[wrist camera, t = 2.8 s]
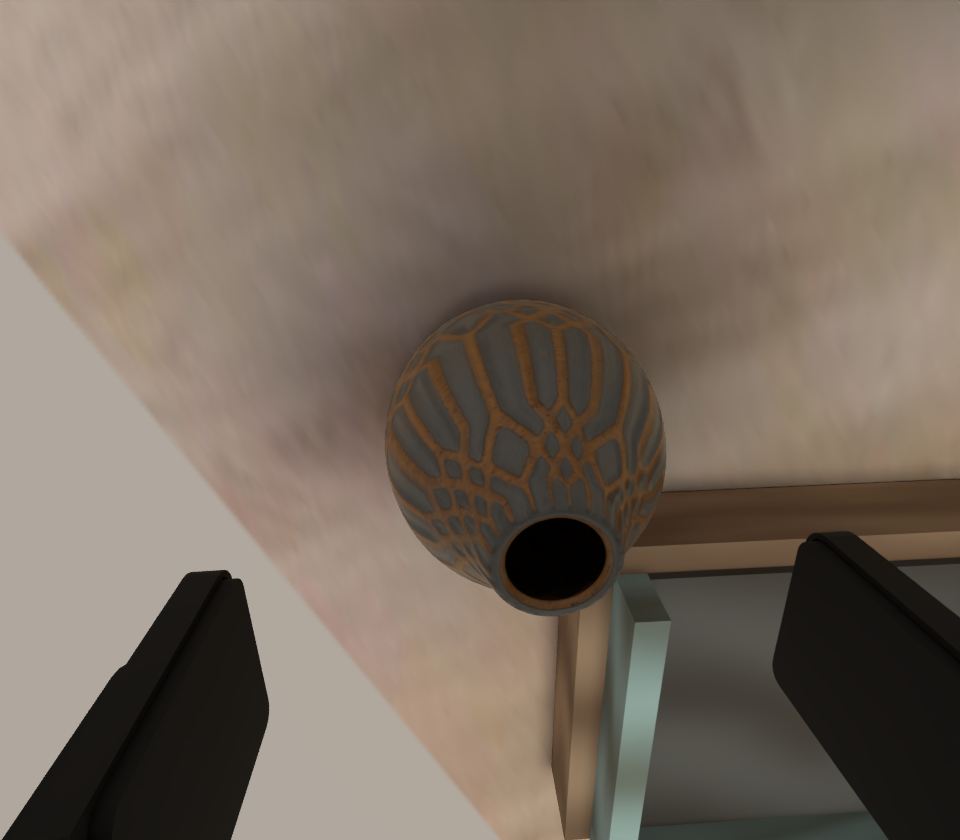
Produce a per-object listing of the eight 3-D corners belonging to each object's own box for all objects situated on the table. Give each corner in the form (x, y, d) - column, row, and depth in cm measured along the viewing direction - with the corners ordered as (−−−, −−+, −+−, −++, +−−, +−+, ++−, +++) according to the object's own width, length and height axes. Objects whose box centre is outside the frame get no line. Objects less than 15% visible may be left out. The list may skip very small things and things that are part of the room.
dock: (564, 496, 19) (601, 595, 15) (1006, 477, 20) (1172, 565, 15) (551, 767, 25) (575, 899, 20) (897, 744, 26) (996, 868, 21)
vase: (584, 497, 19) (681, 720, 11) (386, 471, 19) (339, 692, 11) (641, 301, 17) (820, 411, 9) (413, 261, 16) (378, 341, 8)
